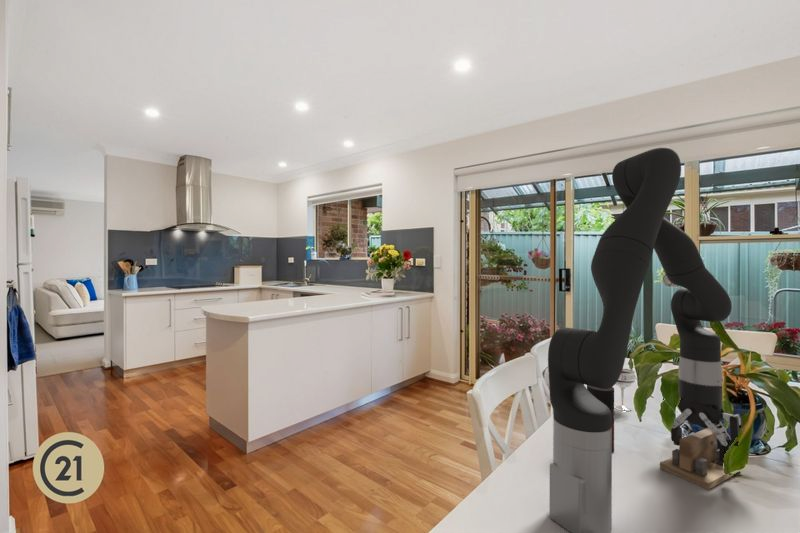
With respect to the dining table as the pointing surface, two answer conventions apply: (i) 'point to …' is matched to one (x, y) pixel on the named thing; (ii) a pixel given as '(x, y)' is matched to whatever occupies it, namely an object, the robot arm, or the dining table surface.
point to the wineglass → (625, 383)
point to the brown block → (697, 449)
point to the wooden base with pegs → (698, 470)
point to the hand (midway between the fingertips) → (699, 452)
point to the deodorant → (605, 402)
